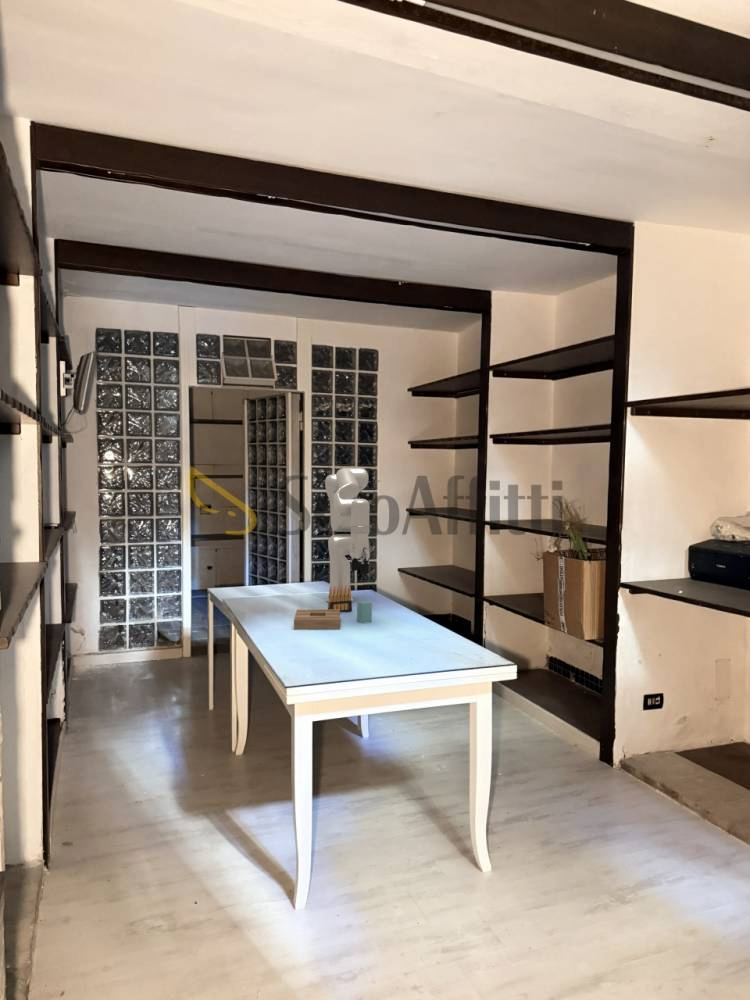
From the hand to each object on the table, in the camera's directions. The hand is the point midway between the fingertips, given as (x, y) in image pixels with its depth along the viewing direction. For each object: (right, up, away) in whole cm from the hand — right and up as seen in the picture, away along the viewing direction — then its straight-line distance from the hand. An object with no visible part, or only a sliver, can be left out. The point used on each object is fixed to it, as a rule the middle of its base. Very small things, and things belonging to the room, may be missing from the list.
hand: (359, 572), depth 276 cm
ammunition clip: (-9, -20, +19) cm, 29 cm away
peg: (+2, -21, +3) cm, 21 cm away
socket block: (-17, -21, -2) cm, 27 cm away
